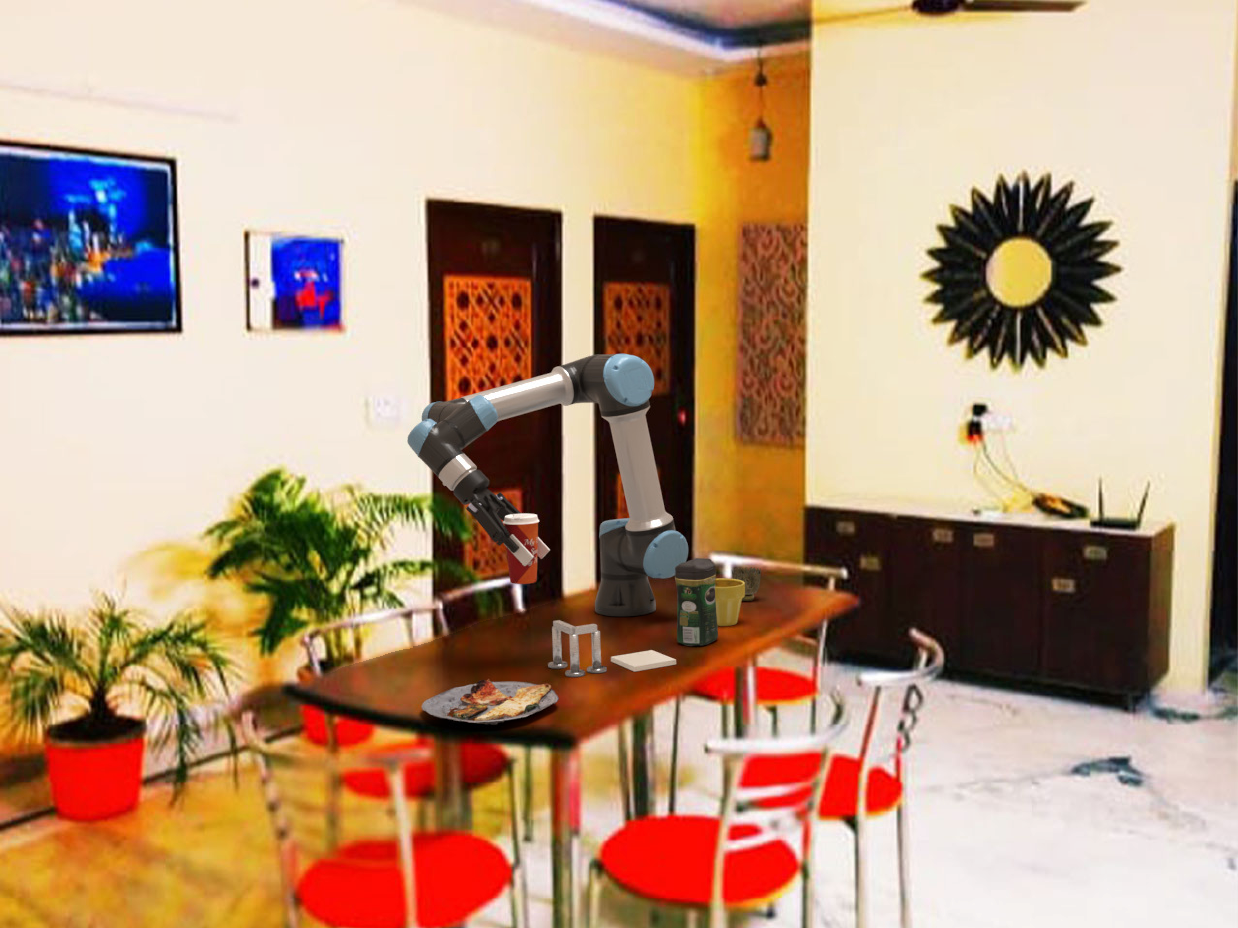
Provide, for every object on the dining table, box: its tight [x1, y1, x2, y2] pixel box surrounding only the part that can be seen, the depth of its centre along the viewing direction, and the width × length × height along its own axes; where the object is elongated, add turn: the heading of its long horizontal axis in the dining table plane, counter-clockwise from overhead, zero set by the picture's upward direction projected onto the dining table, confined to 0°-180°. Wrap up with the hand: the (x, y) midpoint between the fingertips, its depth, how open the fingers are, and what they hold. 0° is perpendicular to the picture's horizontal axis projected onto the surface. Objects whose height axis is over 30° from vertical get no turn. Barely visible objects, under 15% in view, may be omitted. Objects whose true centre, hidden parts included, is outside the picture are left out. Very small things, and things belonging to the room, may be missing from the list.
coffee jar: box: [674, 557, 719, 647], centre depth 288 cm, size 10×8×19 cm
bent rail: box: [547, 619, 607, 678], centre depth 268 cm, size 12×9×10 cm
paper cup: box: [502, 512, 540, 585], centre depth 273 cm, size 8×8×14 cm
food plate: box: [421, 678, 559, 726], centre depth 241 cm, size 25×23×4 cm
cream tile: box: [610, 649, 677, 672], centre depth 272 cm, size 10×10×1 cm
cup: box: [731, 566, 762, 602], centre depth 331 cm, size 8×7×8 cm
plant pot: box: [715, 578, 745, 627], centre depth 306 cm, size 10×10×10 cm
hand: (537, 557), depth 272 cm, fingers closed on paper cup, 8 cm apart
